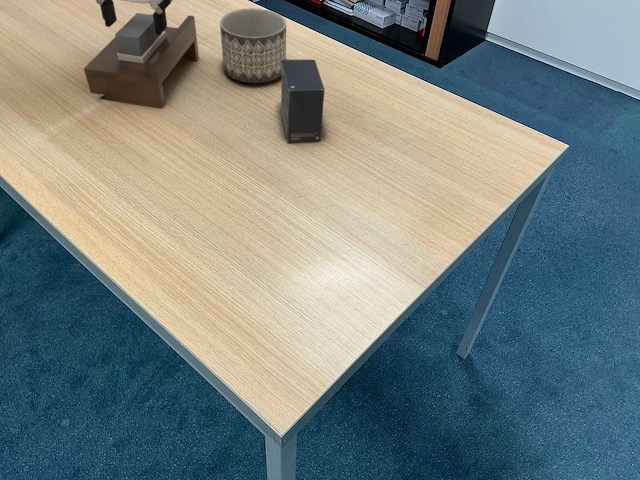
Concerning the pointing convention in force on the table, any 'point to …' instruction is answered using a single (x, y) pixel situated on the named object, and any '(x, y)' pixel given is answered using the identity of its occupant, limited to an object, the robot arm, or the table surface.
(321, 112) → the small box
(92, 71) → the shelf
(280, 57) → the planter
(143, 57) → the grey block on plinth
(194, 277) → the table surface
